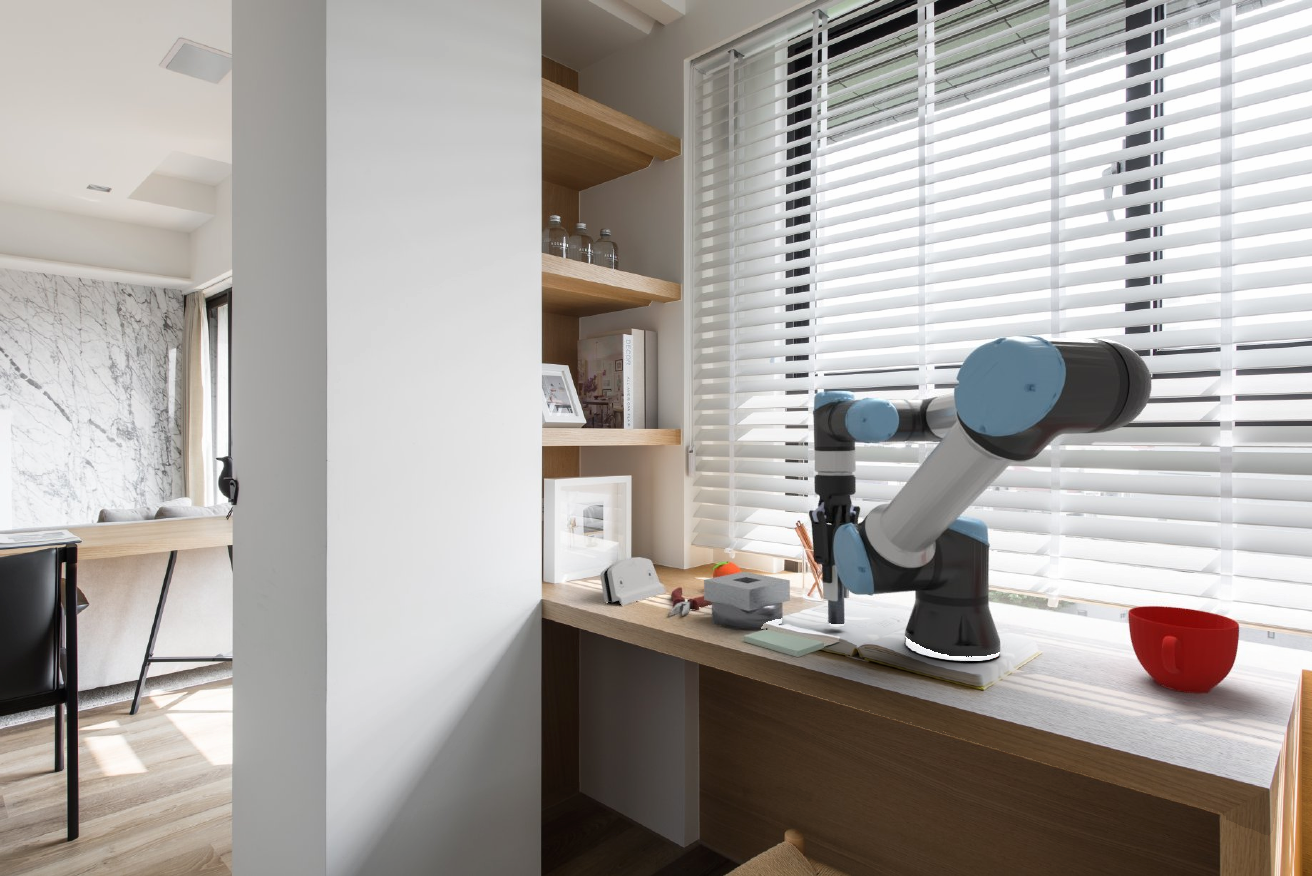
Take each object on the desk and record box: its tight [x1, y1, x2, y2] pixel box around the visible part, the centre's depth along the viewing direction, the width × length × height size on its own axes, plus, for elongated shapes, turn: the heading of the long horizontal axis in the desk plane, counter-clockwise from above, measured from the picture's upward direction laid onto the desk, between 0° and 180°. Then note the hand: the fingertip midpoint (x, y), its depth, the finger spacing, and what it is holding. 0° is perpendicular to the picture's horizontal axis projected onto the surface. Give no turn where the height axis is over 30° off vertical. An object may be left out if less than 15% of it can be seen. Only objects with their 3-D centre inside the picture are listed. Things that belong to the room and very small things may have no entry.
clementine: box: [710, 561, 742, 578], centre depth 164 cm, size 8×7×7 cm
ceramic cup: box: [1127, 605, 1240, 694], centre depth 101 cm, size 13×17×10 cm
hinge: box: [600, 556, 667, 605], centre depth 160 cm, size 17×5×10 cm, turn 143°
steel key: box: [827, 562, 846, 624], centre depth 132 cm, size 6×3×13 cm, turn 41°
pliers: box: [668, 587, 712, 617], centre depth 151 cm, size 12×20×3 cm, turn 162°
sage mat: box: [743, 629, 825, 658], centre depth 125 cm, size 12×12×1 cm
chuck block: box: [703, 571, 791, 631], centre depth 139 cm, size 14×14×8 cm
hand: (836, 598), depth 132 cm, fingers closed on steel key, 3 cm apart
